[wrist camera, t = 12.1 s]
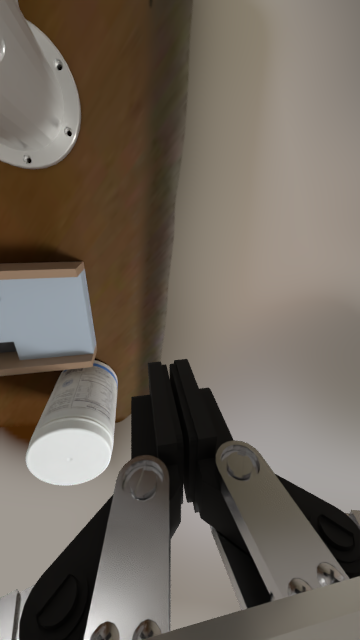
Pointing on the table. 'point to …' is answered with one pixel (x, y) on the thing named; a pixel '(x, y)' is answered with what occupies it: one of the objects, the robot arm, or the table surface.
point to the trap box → (45, 318)
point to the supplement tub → (75, 427)
